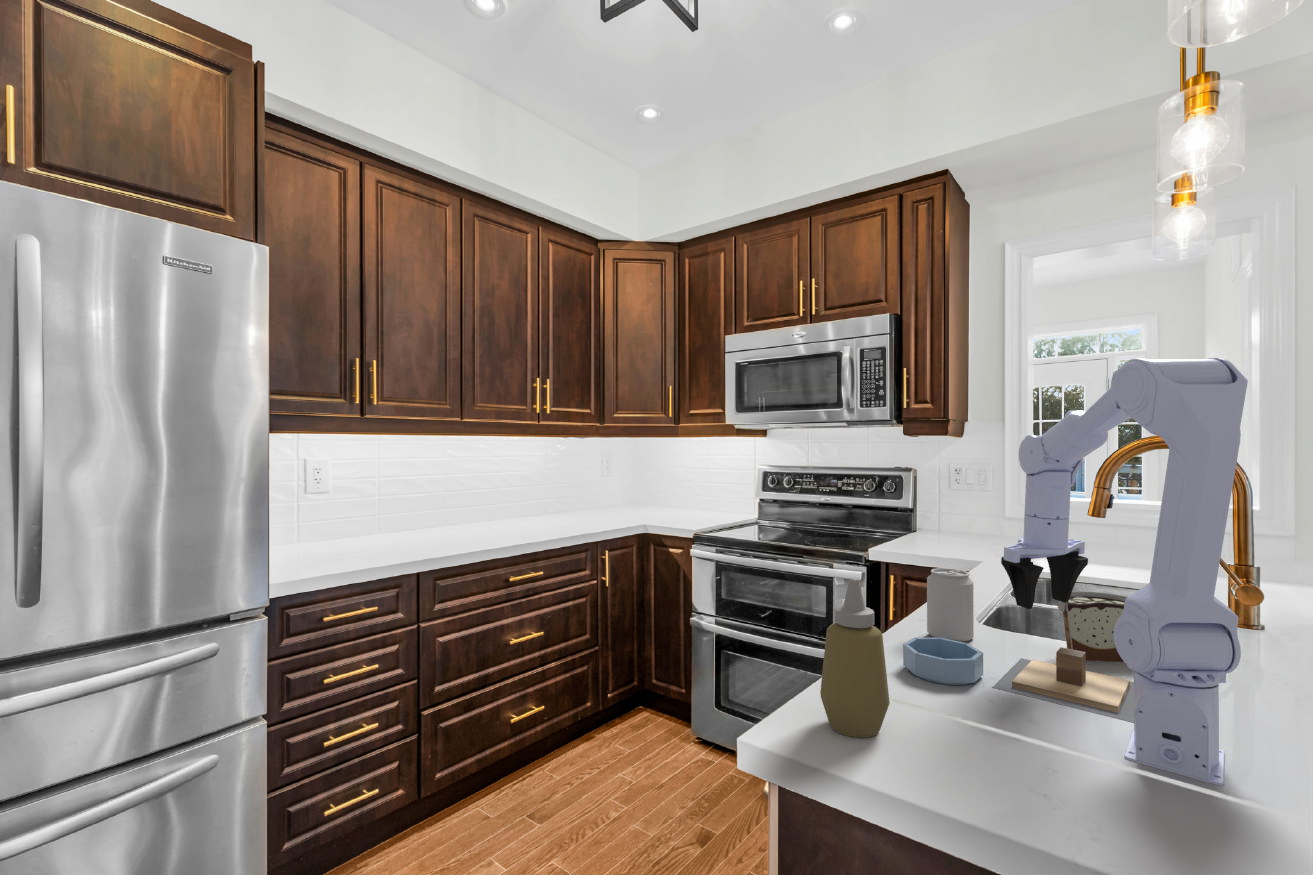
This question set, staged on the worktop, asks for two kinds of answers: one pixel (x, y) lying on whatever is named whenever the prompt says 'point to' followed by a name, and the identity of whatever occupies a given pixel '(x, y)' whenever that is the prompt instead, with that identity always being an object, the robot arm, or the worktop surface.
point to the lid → (1073, 681)
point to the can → (950, 605)
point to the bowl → (943, 660)
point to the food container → (1092, 624)
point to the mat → (1123, 714)
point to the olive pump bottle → (854, 669)
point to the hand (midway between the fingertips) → (1042, 603)
